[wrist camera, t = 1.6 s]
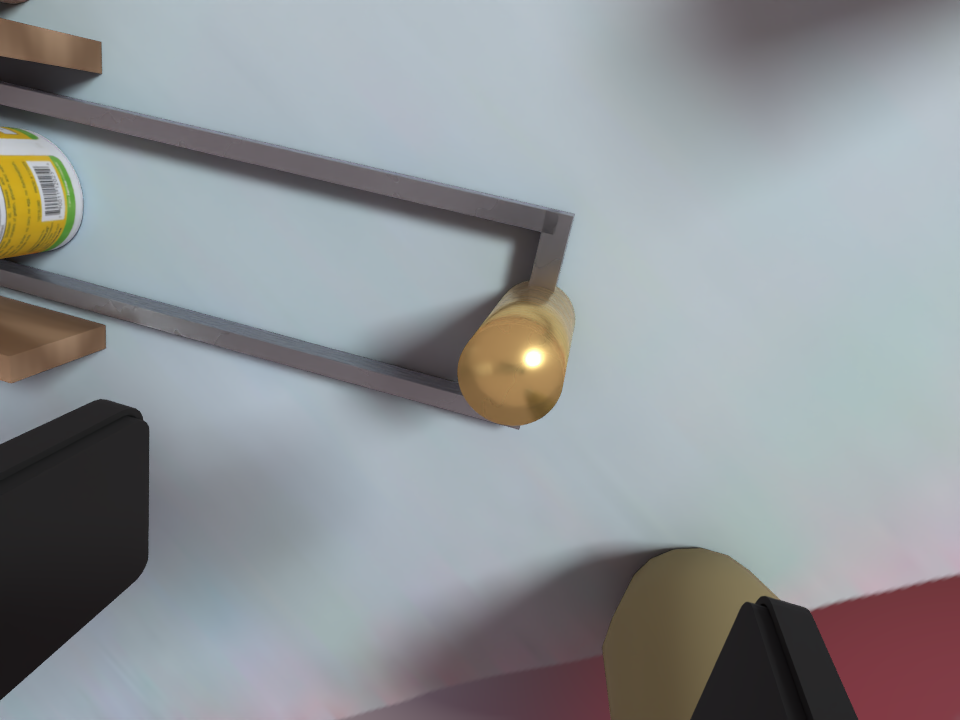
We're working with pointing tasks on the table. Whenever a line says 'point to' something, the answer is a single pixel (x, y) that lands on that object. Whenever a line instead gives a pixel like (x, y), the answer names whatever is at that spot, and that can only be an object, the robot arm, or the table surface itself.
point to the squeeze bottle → (673, 632)
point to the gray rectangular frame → (481, 368)
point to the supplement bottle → (36, 194)
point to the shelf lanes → (21, 326)
